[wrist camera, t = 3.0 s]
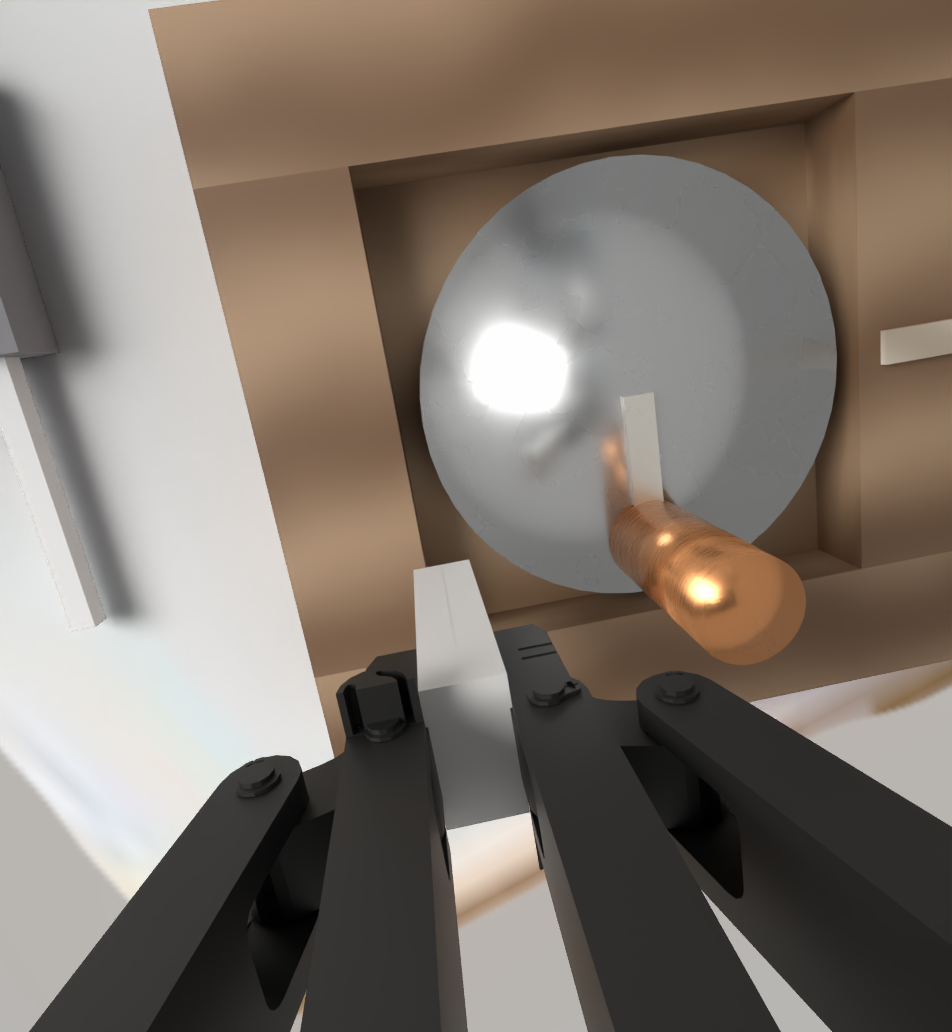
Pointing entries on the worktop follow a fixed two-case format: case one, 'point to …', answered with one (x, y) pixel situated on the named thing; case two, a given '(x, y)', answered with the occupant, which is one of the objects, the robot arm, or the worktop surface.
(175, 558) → the worktop surface
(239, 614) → the worktop surface
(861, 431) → the housing
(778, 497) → the dial
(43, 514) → the screwdriver
